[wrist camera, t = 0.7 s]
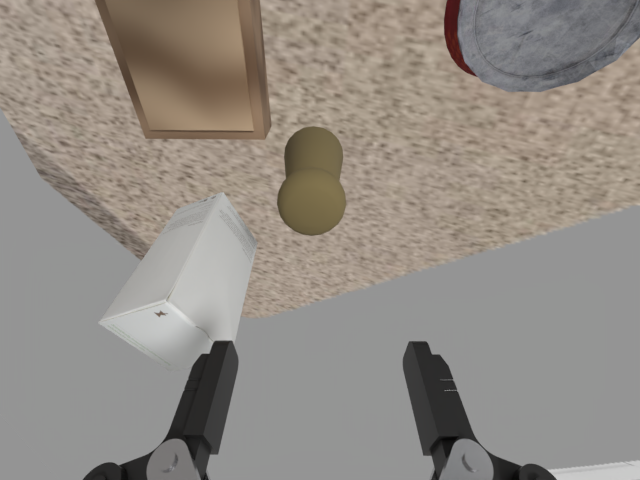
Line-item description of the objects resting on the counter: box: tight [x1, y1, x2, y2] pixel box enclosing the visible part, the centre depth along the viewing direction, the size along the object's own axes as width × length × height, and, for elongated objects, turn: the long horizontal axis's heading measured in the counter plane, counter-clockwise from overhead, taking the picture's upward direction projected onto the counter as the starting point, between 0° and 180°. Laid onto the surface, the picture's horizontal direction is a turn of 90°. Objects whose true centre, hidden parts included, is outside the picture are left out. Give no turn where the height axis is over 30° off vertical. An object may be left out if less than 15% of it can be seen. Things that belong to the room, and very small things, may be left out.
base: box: [95, 0, 272, 140], centre depth 22 cm, size 10×10×4 cm
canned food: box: [444, 0, 640, 92], centre depth 19 cm, size 11×10×10 cm
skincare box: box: [98, 192, 258, 372], centre depth 28 cm, size 8×7×16 cm
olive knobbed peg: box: [277, 126, 346, 236], centre depth 24 cm, size 6×6×11 cm
